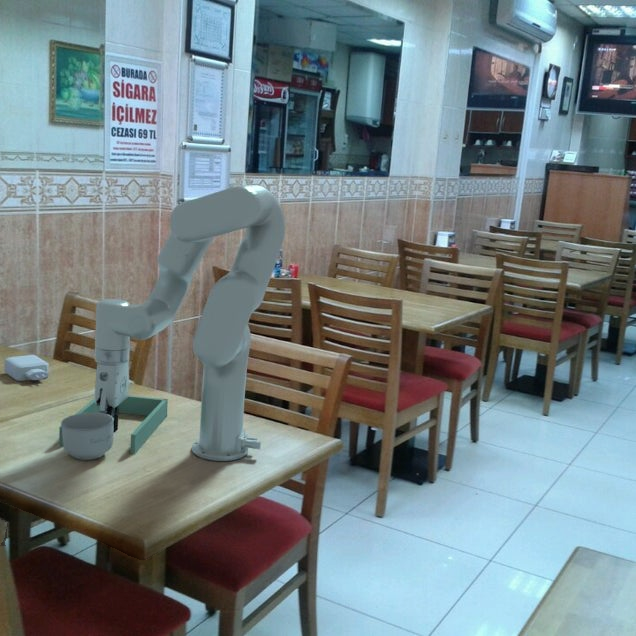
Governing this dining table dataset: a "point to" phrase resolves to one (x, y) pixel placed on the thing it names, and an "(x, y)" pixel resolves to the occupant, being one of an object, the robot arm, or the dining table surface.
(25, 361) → the charger
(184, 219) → the robot arm
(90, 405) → the green u-shaped border
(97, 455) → the teacup
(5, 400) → the dining table surface
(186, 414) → the dining table surface
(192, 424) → the dining table surface
